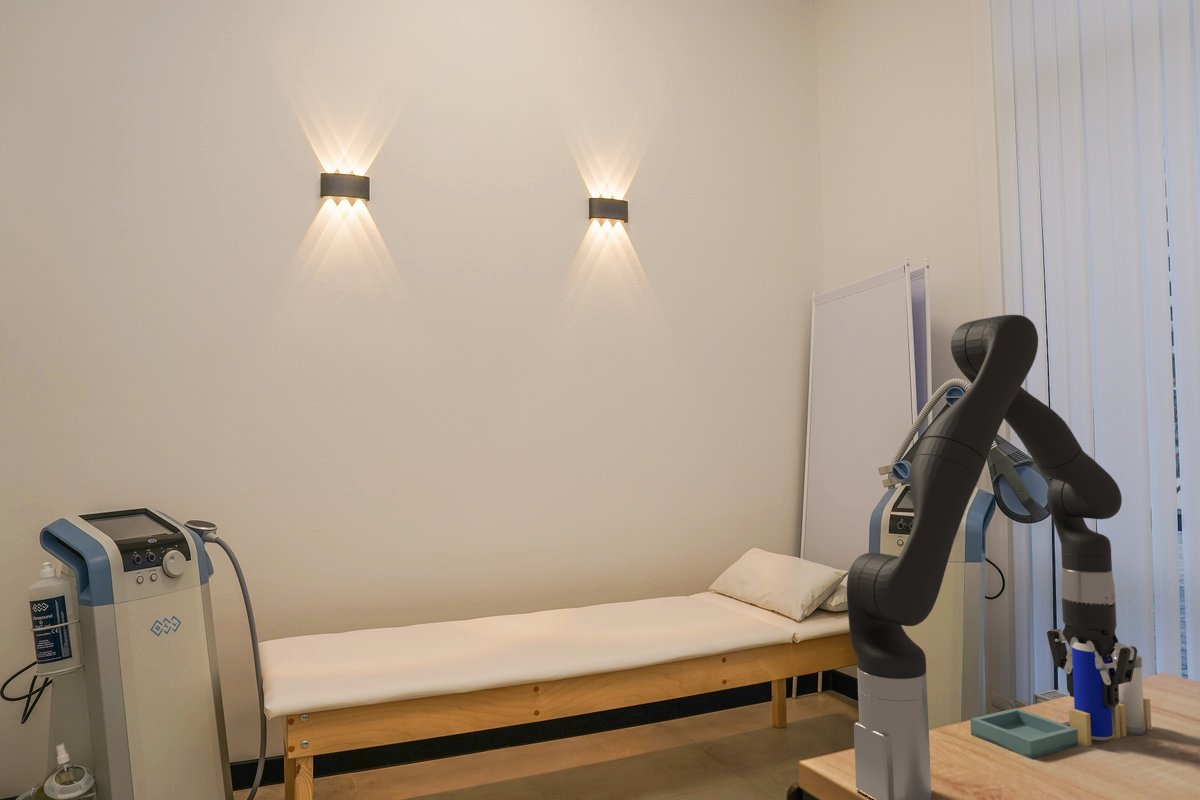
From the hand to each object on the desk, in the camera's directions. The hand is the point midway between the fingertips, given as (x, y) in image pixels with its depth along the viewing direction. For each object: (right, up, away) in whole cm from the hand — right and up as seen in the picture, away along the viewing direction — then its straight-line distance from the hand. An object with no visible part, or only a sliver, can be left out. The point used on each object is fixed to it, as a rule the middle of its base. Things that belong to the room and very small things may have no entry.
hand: (1092, 701), depth 127 cm
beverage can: (0, -6, 0) cm, 6 cm away
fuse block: (+3, -6, +3) cm, 8 cm away
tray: (-11, -6, 0) cm, 13 cm away
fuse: (+8, -6, +3) cm, 11 cm away
